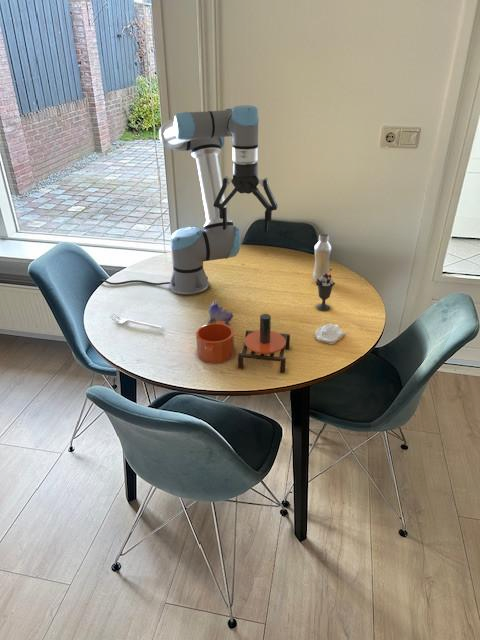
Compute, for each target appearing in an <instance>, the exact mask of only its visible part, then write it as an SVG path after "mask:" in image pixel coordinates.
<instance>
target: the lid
mask: <svg viewBox="0 0 480 640" xmlns="http://www.w3.org/2000/svg"><path fill="white" fill-rule="evenodd" d="M271 326H272V316H271V314H269V313H262V314H261V315H259V330H254V331H255V332H252V333H250V334H249V335H247V336H246V335H245V337H244V343H245V346H246V347H247V350H249V351H250V352H251V351H253V352H255V354H259V355H260V354H265V355H270V354H272V353H275V354H276V353H279V352H280V350H282V349H283V348H284V347H285V343H286V341H285V338H284V337H283V336H282V335H281V334H279V332H277V331H273V330H272V329H271V328H272V327H271Z"/></svg>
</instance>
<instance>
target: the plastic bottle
mask: <svg viewBox="0 0 480 640" xmlns="http://www.w3.org/2000/svg"><path fill="white" fill-rule="evenodd" d="M329 241H330V235H329V234H328V233H320V234H319V235H318V242H317V243H315V245H314V248H313V249H314V250H313V251H314V267H313V272H312V276H311V277H312V281H313V282H314V283H315V284H316V281H317V279H320V277H322V276H323V275H324V274H325V273H327V274H328V275H330V271H329V270H330V269H329V266H330V265H329V264H330V259H331V258H330V257H331V254H332V253H331V252H332V245H331V244H330V242H329Z"/></svg>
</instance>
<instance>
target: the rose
mask: <svg viewBox="0 0 480 640" xmlns="http://www.w3.org/2000/svg"><path fill="white" fill-rule="evenodd" d="M314 335H315V338H316V340H317V341H318V342H322V343H326V344H329V345H333V344H335V343H337V341H339V340H341V339H342V338H343V337H344V336H345V335H346V332H345V331H342V330H341V329H340V327H339V325H338V324H332V323H327V324H325V325H324V326H323V325H322V326H321V325H320V326H319V327H318V328H317V329H316V330H315V334H314Z"/></svg>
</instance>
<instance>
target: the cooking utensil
mask: <svg viewBox="0 0 480 640" xmlns="http://www.w3.org/2000/svg"><path fill="white" fill-rule="evenodd" d="M109 318H110V319H111V320H112V321H114V323H117V324H119V325H123V324H125V323H130V324H135V325H139V326H140V325H141V326H145V327H151V328H156V329H159V330H162V329H163V326H160V325H156V324H152V323H148V322H143V321H139V320H134V319H131V318H124V317H121V316H118V315H116V314H115V313H112V314H111V315H110V316H109Z"/></svg>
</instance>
